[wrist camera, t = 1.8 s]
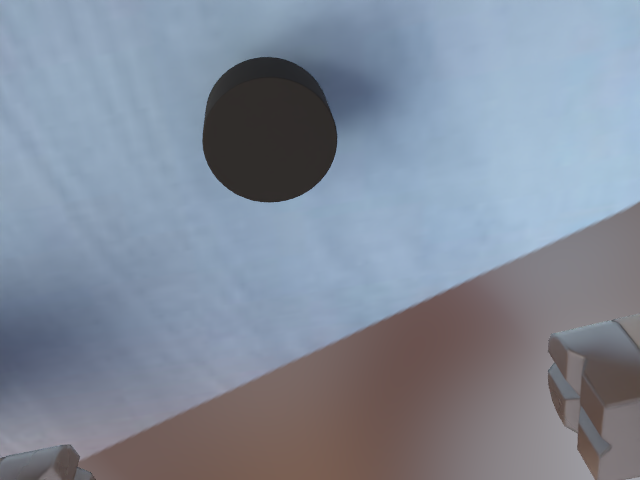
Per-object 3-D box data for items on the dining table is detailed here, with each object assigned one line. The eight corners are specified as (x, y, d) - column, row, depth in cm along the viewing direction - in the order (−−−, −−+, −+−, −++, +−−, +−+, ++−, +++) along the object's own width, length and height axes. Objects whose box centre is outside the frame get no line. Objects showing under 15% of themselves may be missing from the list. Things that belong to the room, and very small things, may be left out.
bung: (225, 166, 25) (224, 215, 21) (192, 59, 22) (184, 95, 19) (331, 141, 25) (347, 186, 21) (310, 32, 22) (323, 62, 19)
